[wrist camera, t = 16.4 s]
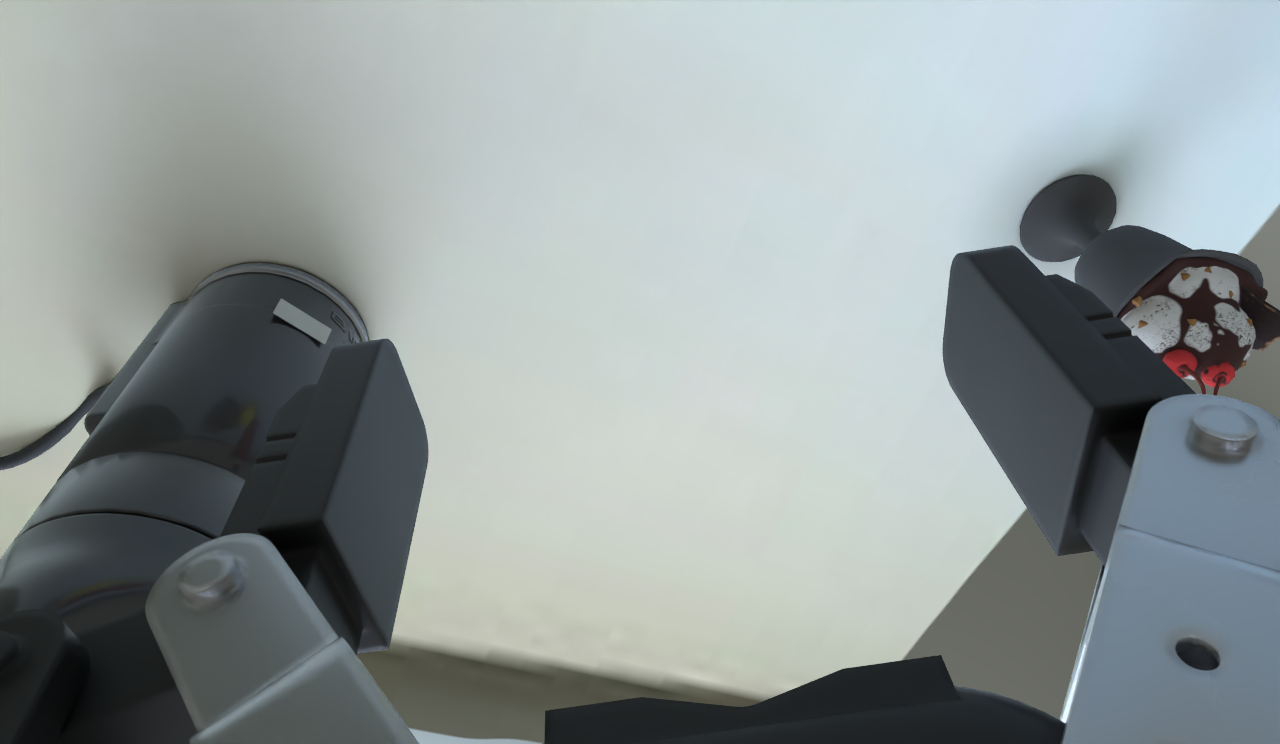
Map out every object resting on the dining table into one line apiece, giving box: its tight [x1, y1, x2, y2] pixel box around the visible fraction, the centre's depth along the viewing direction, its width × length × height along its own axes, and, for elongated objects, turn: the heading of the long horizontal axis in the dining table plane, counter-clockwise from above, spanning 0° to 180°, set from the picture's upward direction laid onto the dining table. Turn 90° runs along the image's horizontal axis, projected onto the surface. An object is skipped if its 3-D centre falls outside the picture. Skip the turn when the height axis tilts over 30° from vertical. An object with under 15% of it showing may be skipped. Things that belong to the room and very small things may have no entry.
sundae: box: [1020, 175, 1280, 395], centre depth 37 cm, size 7×7×15 cm
